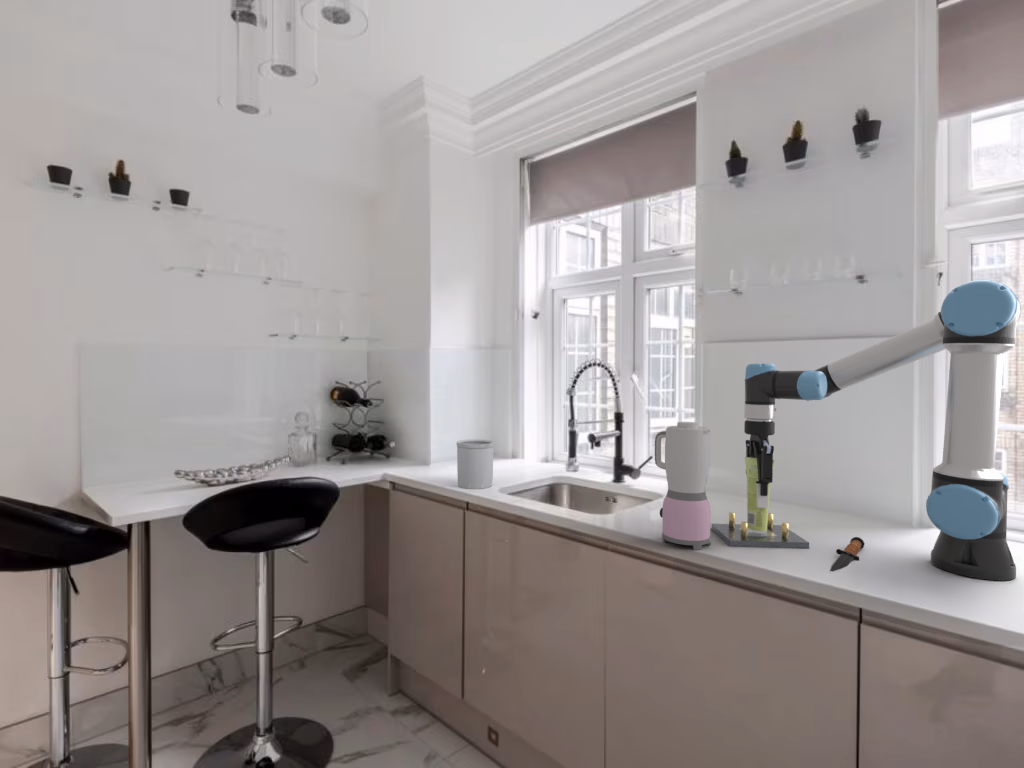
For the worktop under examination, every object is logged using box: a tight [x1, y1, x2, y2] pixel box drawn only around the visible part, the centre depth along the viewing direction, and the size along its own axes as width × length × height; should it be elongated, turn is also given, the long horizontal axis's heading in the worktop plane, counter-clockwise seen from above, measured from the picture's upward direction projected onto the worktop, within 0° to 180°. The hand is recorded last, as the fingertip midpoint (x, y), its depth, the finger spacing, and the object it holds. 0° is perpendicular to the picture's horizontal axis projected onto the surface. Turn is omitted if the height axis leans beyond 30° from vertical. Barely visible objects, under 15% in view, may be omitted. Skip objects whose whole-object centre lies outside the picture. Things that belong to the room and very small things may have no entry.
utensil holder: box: [456, 438, 495, 490], centre depth 215 cm, size 15×15×18 cm
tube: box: [744, 456, 775, 531], centre depth 148 cm, size 6×5×20 cm
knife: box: [829, 536, 865, 572], centre depth 132 cm, size 25×3×5 cm
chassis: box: [710, 511, 810, 549], centre depth 148 cm, size 16×20×6 cm
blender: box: [654, 421, 712, 551], centre depth 145 cm, size 16×12×32 cm
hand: (758, 504), depth 148 cm, fingers closed on tube, 5 cm apart
